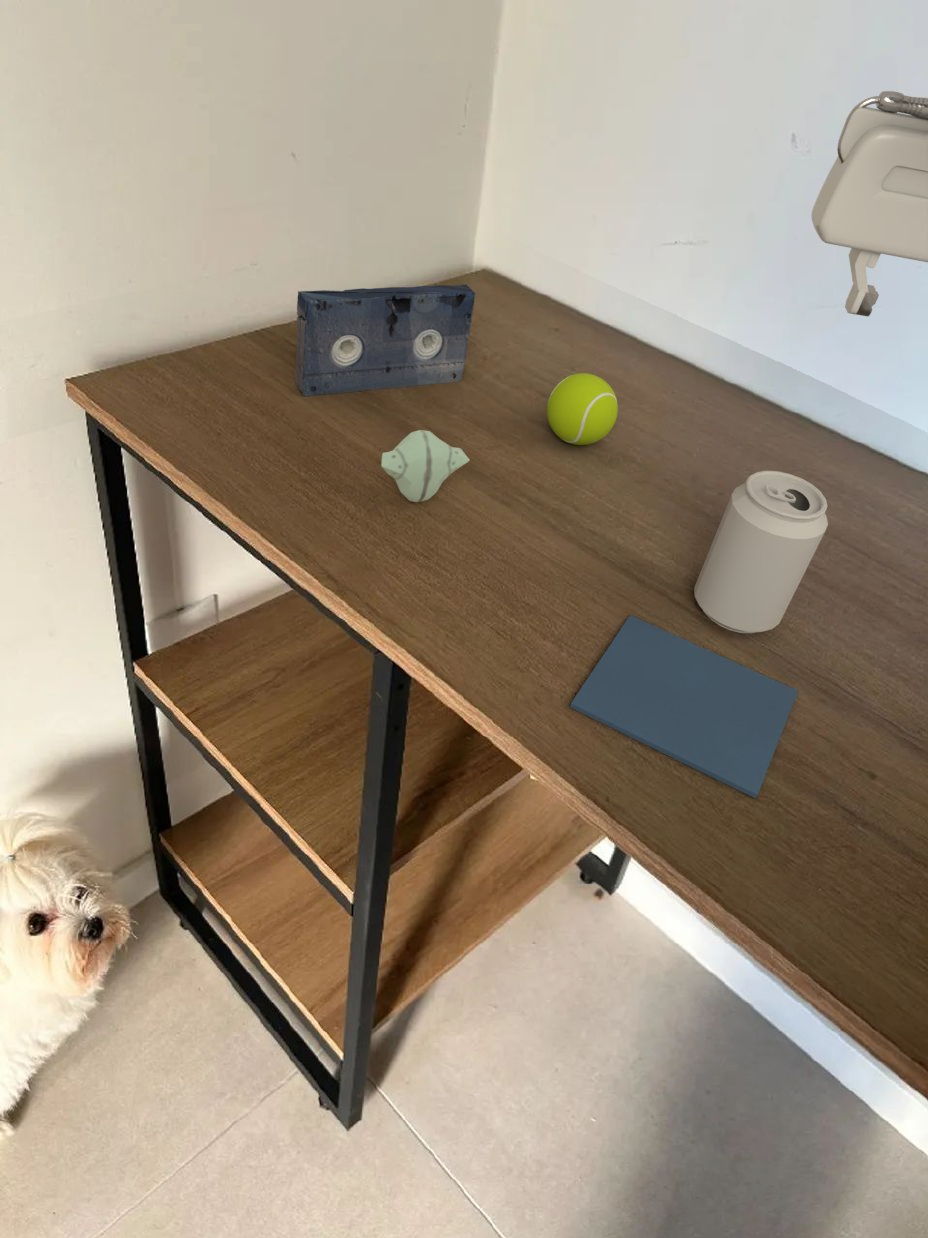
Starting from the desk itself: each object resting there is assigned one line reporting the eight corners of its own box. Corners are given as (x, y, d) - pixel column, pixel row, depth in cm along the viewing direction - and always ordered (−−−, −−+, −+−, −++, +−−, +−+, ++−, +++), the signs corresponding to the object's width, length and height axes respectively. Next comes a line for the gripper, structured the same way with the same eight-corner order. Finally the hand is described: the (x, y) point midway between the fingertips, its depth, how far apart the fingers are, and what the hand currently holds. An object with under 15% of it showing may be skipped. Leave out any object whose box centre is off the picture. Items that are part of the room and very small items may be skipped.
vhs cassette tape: (454, 370, 103) (467, 282, 97) (465, 383, 101) (479, 294, 95) (292, 382, 96) (295, 288, 89) (301, 397, 94) (304, 301, 87)
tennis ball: (621, 448, 96) (639, 386, 91) (574, 465, 92) (590, 401, 87) (574, 416, 99) (589, 355, 95) (527, 431, 95) (540, 368, 91)
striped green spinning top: (378, 516, 81) (385, 449, 76) (366, 489, 83) (372, 423, 79) (465, 509, 83) (476, 444, 79) (450, 483, 86) (460, 419, 82)
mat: (795, 695, 71) (798, 690, 71) (755, 799, 63) (757, 794, 62) (628, 619, 75) (630, 614, 75) (569, 707, 67) (570, 702, 66)
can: (788, 645, 76) (849, 526, 68) (698, 634, 75) (750, 512, 67) (767, 586, 81) (822, 470, 73) (684, 576, 81) (730, 457, 73)
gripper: (870, 95, 56) (785, 314, 65) (1202, 158, 56) (1071, 368, 65) (849, 74, 61) (773, 281, 70) (1155, 132, 61) (1039, 331, 70)
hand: (919, 324), depth 68 cm, fingers open, 8 cm apart
